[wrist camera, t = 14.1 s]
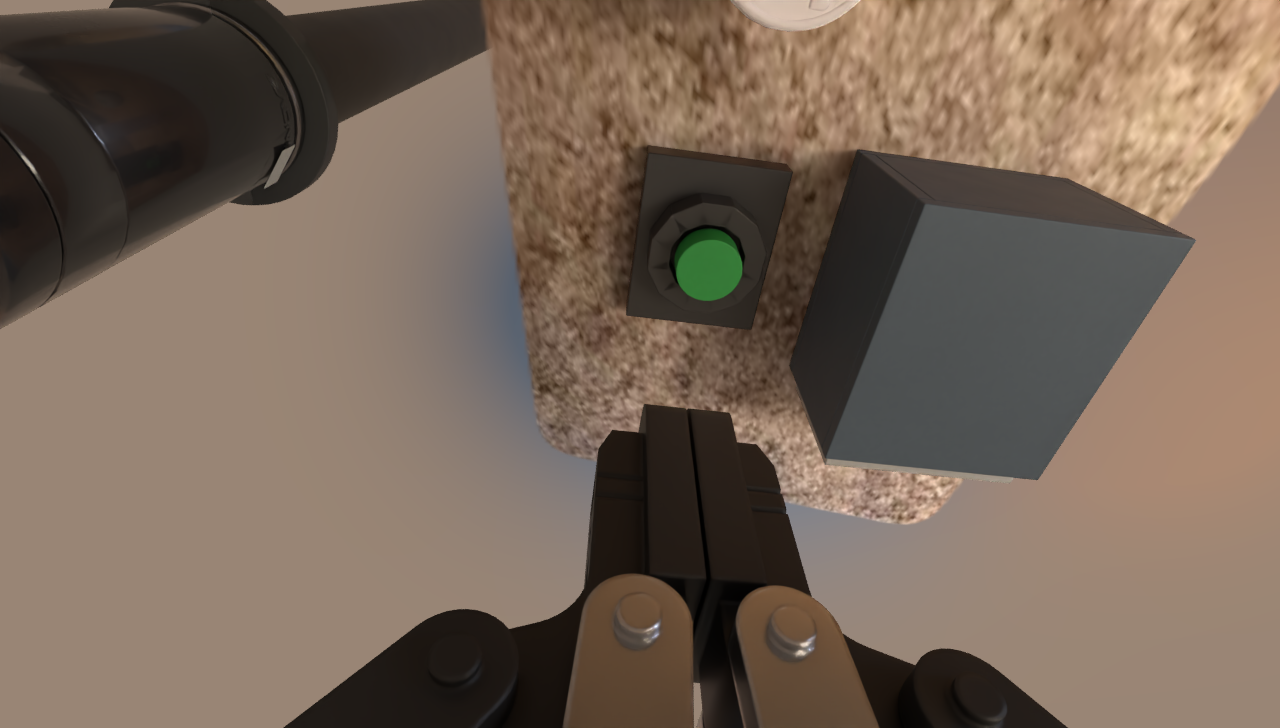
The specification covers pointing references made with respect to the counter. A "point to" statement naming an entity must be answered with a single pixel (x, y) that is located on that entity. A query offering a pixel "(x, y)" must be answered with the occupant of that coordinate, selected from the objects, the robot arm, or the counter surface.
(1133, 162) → the counter surface
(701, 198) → the control block
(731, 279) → the button
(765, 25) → the smoothie
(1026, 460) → the cabinet
